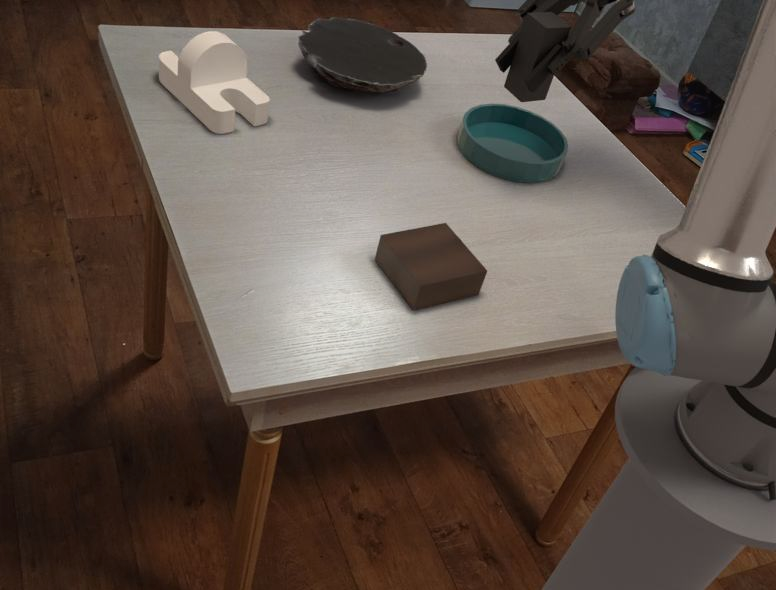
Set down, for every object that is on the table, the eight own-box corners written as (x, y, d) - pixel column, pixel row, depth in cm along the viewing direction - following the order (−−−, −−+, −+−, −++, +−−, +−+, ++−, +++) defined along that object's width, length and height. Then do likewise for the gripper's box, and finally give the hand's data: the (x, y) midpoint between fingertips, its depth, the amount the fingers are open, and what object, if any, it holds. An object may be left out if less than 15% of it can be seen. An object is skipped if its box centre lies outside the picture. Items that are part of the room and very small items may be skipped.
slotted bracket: (153, 75, 127) (153, 13, 120) (207, 65, 133) (210, 5, 126) (215, 135, 119) (219, 72, 112) (271, 122, 124) (278, 61, 118)
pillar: (545, 100, 120) (571, 26, 112) (521, 102, 118) (546, 27, 110) (527, 84, 122) (552, 11, 115) (503, 86, 120) (527, 12, 112)
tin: (581, 175, 132) (589, 156, 130) (496, 189, 124) (503, 169, 122) (520, 118, 142) (526, 99, 139) (437, 128, 133) (442, 108, 131)
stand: (478, 294, 106) (487, 270, 103) (413, 310, 101) (420, 285, 98) (438, 246, 111) (445, 222, 108) (374, 259, 106) (380, 234, 104)
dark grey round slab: (401, 48, 151) (407, 21, 147) (437, 112, 137) (445, 84, 133) (282, 40, 144) (286, 12, 140) (308, 107, 130) (312, 77, 126)
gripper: (685, -7, 112) (566, 122, 115) (587, -61, 121) (478, 60, 123) (680, -44, 106) (554, 94, 108) (577, -99, 114) (462, 30, 116)
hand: (514, 76), depth 115 cm, fingers closed on pillar, 5 cm apart
